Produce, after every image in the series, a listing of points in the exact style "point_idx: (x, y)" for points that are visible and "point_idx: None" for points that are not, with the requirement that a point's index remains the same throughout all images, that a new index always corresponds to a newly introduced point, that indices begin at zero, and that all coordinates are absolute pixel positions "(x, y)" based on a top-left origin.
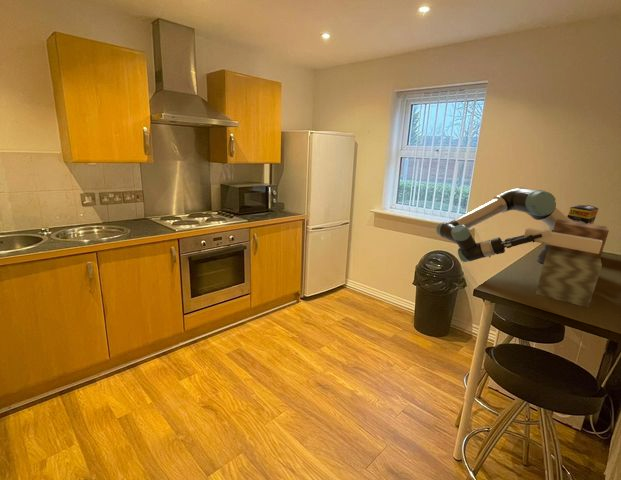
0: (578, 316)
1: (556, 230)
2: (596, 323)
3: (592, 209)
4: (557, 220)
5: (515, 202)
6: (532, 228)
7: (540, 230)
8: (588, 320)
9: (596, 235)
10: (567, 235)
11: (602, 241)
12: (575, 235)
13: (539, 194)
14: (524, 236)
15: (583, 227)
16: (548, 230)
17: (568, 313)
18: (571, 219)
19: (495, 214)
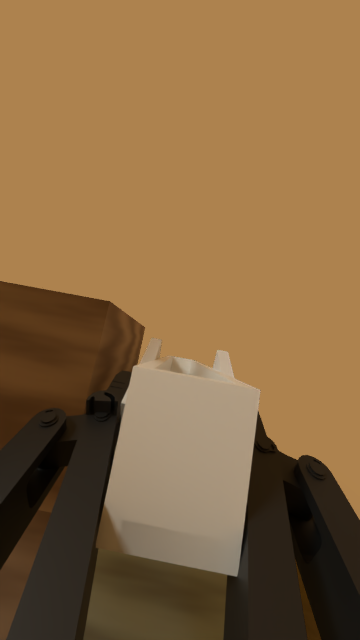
0: (302, 603)
1: (103, 345)
2: (296, 565)
3: None
4: (12, 284)
5: None
6: (146, 363)
7: (162, 366)
8: (299, 580)
9: (137, 343)
10: (169, 361)
11: (137, 357)
12: (123, 354)
13: None
14: (243, 510)
15: (134, 322)
16: (228, 357)
17: (316, 634)
18: None
19: None
